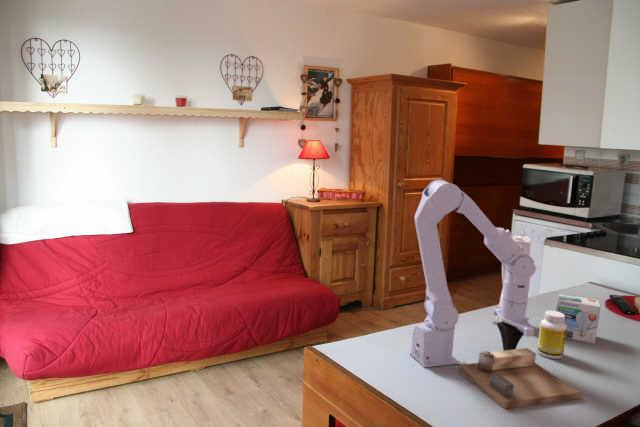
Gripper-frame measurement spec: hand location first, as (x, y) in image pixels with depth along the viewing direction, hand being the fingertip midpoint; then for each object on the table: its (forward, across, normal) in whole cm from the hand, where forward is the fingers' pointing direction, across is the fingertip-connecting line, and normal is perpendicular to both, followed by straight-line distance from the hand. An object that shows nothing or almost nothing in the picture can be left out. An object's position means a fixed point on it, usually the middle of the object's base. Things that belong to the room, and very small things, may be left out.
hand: (508, 352), depth 127 cm
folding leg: (+1, -5, +4) cm, 7 cm away
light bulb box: (+3, +13, -29) cm, 32 cm away
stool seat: (+2, -11, +4) cm, 12 cm away
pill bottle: (+3, +3, -14) cm, 14 cm away
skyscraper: (+3, +24, -15) cm, 28 cm away
